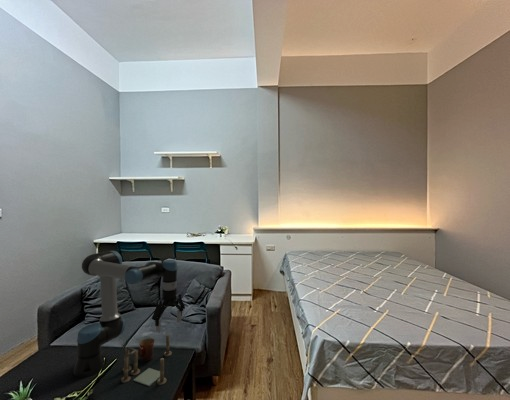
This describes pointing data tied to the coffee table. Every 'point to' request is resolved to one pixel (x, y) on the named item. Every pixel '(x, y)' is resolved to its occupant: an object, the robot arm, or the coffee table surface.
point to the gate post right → (161, 373)
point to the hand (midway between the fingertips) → (169, 326)
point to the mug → (146, 349)
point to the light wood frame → (128, 368)
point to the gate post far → (167, 346)
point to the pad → (148, 377)
